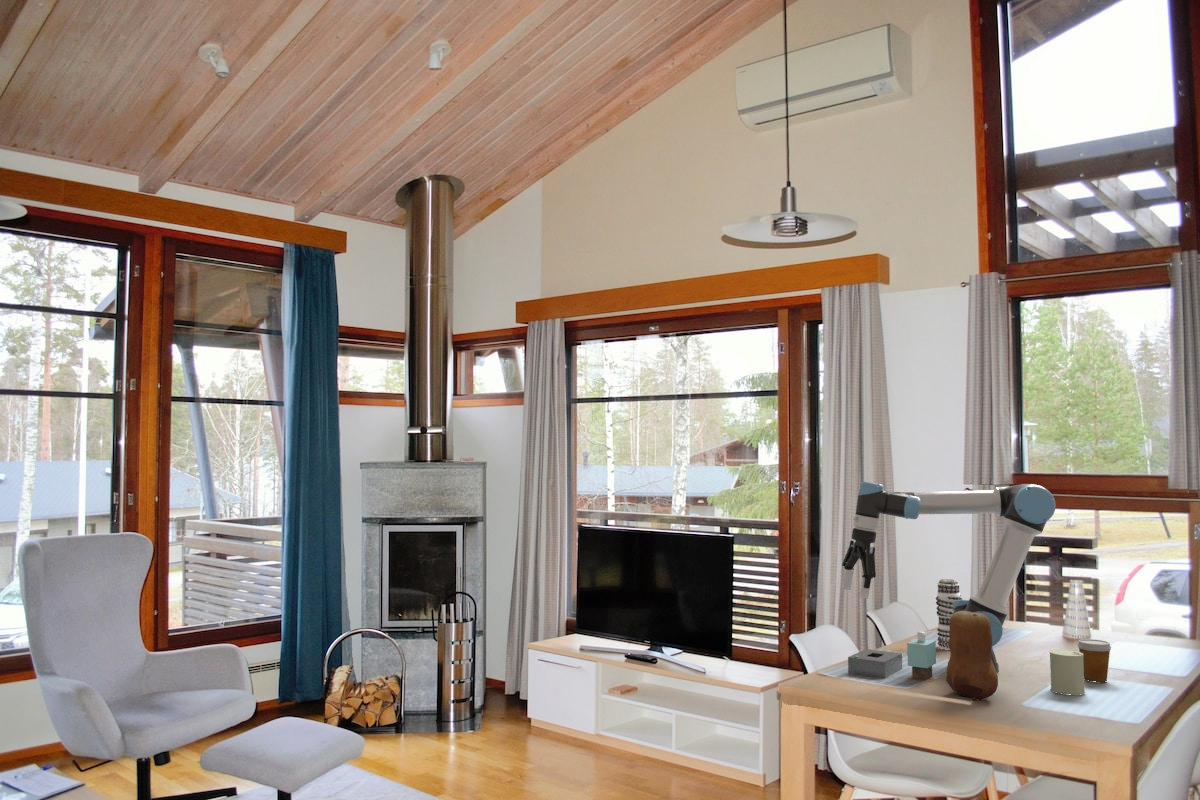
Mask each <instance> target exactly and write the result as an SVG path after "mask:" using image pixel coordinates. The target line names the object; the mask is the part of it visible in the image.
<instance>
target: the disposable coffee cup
mask: <svg viewBox="0 0 1200 800" xmlns="http://www.w3.org/2000/svg"><path fill="white" fill-rule="evenodd" d="M1077 648H1078V649H1079V651H1078V652H1081V653H1083V667H1084V679H1085V680H1084V681H1086V680H1089V681H1096V682H1105V681H1107V682H1108V672H1109V663H1110V655H1111V654H1110V652H1111V649H1112V646H1111V644H1110V642H1109V641H1106V640H1102V639H1101V640H1100V639H1094V638H1093V639H1091V638H1085V639H1084V638H1083V639H1078V643H1077ZM1089 681H1088V682H1089ZM1105 683H1106V682H1105Z"/></svg>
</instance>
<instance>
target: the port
mask: <svg viewBox="0 0 1200 800" xmlns="http://www.w3.org/2000/svg"><path fill="white" fill-rule="evenodd" d="M847 670H848V671H847V673H848V675H849V676H850V675H852V674H853V675H858V676H859V675H860V676H867V677H873V678H880V679H887V678H888V677H891V676H893V675H894V674H896V673H897V672H898V673H899V672H900V671H901V670H903V653H901V652H893V651H886V650H879V649H878V650H877V649H869V648H865V649H863V650H861V651H858V652H856V653H854V654H852V655H849V656H848V657H847Z"/></svg>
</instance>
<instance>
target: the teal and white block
mask: <svg viewBox="0 0 1200 800" xmlns="http://www.w3.org/2000/svg"><path fill="white" fill-rule="evenodd" d="M916 633H917V638H915V639H912V640H910V641H909V642H907V644H906V645H907V646H906V647H907V648H906V649H907V651H906V652H907V667H918V668H929V667H930V666H932V667H933V666H934V665H935V664H937V647H936V646H937V643H936V640H932V639H926V631H917V632H916Z"/></svg>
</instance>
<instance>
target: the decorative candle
mask: <svg viewBox="0 0 1200 800" xmlns="http://www.w3.org/2000/svg"><path fill="white" fill-rule="evenodd" d="M936 585H937V596H936V597H935V600H936V601H935V604H936V605H937V606H936V615H937V617H938V624H937V626H938V628H937V629H936V630H937V635H938V637H937V648H938V649H939V648H940V649H939V650H942V649H945V650H944V651H948V650H950V649H949V646H948V642H949V639H950V636H949V634H950V628H949V627H950V626H949V621H950V617H951V616H952V615H953V614H954V611H953V606H954V601H955V600H963V598H962V595H961V592H960V586H961V584H960V583H959V582H958V581H957V580H956V579H951V578H950V579H949V578H941V579H939V581H938V582H936Z"/></svg>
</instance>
